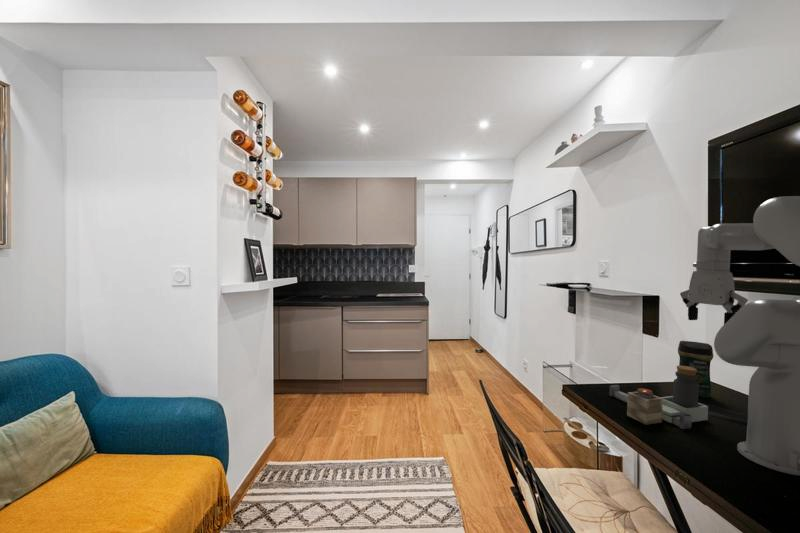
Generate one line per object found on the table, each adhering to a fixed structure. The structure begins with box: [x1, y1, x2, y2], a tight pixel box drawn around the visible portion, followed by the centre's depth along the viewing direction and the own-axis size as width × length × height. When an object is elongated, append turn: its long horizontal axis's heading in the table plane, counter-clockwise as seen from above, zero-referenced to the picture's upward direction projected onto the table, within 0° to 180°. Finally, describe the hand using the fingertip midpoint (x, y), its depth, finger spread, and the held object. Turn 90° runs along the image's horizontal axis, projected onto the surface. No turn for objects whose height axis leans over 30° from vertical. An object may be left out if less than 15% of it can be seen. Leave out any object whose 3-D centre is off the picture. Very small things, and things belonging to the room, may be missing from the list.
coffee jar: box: [676, 340, 714, 399], centre depth 122 cm, size 10×8×19 cm
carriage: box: [659, 395, 709, 424], centre depth 104 cm, size 8×13×4 cm, turn 106°
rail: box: [608, 384, 693, 430], centre depth 108 cm, size 24×3×4 cm, turn 16°
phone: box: [699, 402, 748, 426], centre depth 105 cm, size 8×1×15 cm
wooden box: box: [626, 390, 663, 425], centre depth 102 cm, size 6×6×7 cm
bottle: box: [672, 365, 699, 408], centre depth 104 cm, size 6×6×15 cm
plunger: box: [636, 387, 654, 399], centre depth 102 cm, size 4×4×5 cm
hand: (710, 322), depth 106 cm, fingers open, 9 cm apart
